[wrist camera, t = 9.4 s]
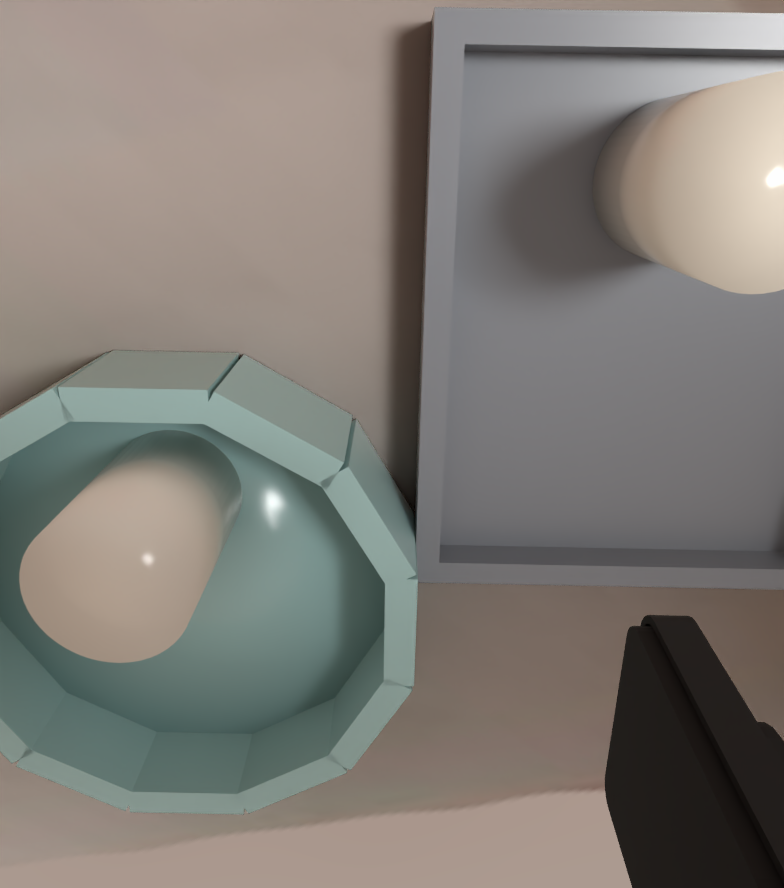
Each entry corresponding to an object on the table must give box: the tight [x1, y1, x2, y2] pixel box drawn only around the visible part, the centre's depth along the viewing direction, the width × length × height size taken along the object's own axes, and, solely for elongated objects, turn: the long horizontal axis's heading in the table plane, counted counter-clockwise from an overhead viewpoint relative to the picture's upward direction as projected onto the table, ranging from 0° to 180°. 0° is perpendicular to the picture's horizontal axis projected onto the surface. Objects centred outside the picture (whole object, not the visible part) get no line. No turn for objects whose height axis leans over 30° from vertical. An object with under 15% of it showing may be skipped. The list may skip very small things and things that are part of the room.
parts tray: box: [415, 7, 784, 590], centre depth 22 cm, size 14×17×2 cm
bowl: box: [0, 350, 418, 815], centre depth 24 cm, size 16×16×4 cm
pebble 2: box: [593, 71, 784, 294], centre depth 17 cm, size 4×4×6 cm
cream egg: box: [19, 430, 242, 663], centre depth 21 cm, size 4×4×6 cm
